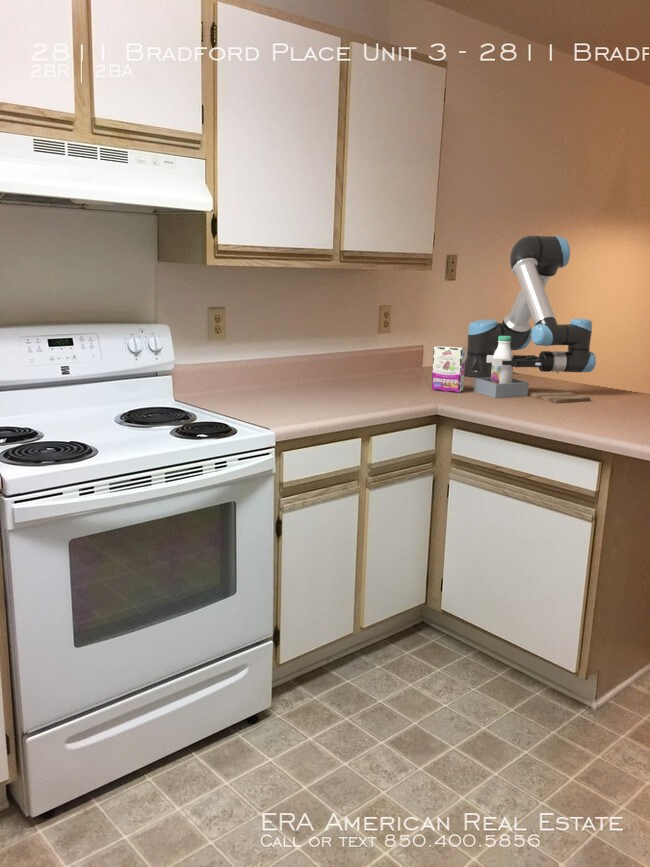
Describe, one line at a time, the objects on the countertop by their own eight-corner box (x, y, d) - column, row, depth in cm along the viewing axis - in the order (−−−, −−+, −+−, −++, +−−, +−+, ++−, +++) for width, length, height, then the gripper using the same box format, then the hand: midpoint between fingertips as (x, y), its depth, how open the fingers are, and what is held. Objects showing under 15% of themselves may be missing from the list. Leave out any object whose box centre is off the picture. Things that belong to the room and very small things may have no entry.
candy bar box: (463, 391, 273) (466, 347, 269) (459, 393, 268) (462, 348, 265) (435, 388, 278) (437, 345, 274) (430, 390, 273) (433, 346, 270)
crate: (473, 391, 273) (474, 378, 272) (504, 389, 278) (505, 376, 277) (495, 398, 260) (496, 384, 259) (527, 396, 265) (528, 382, 264)
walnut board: (528, 395, 266) (529, 392, 266) (562, 393, 272) (562, 390, 271) (555, 403, 253) (556, 399, 252) (590, 401, 258) (590, 397, 258)
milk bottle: (509, 388, 272) (514, 335, 267) (512, 392, 265) (517, 337, 260) (488, 388, 273) (492, 334, 268) (491, 391, 265) (495, 336, 261)
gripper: (559, 376, 258) (496, 375, 257) (541, 367, 277) (482, 366, 277) (562, 355, 256) (497, 354, 255) (543, 347, 276) (483, 346, 275)
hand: (489, 360), depth 266 cm, fingers closed on milk bottle, 7 cm apart
